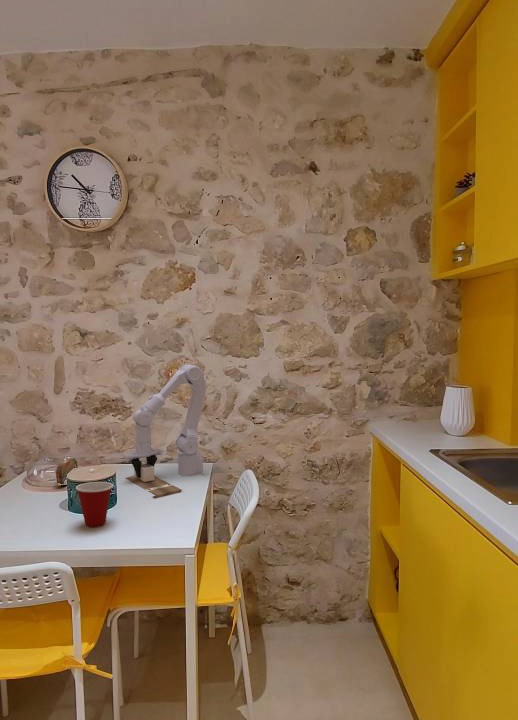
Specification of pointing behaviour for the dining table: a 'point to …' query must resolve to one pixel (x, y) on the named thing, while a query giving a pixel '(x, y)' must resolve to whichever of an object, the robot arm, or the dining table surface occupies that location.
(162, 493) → the floorboard
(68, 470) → the brown arched piece
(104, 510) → the plastic cup
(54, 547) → the dining table surface
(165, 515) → the dining table surface
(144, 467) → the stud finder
